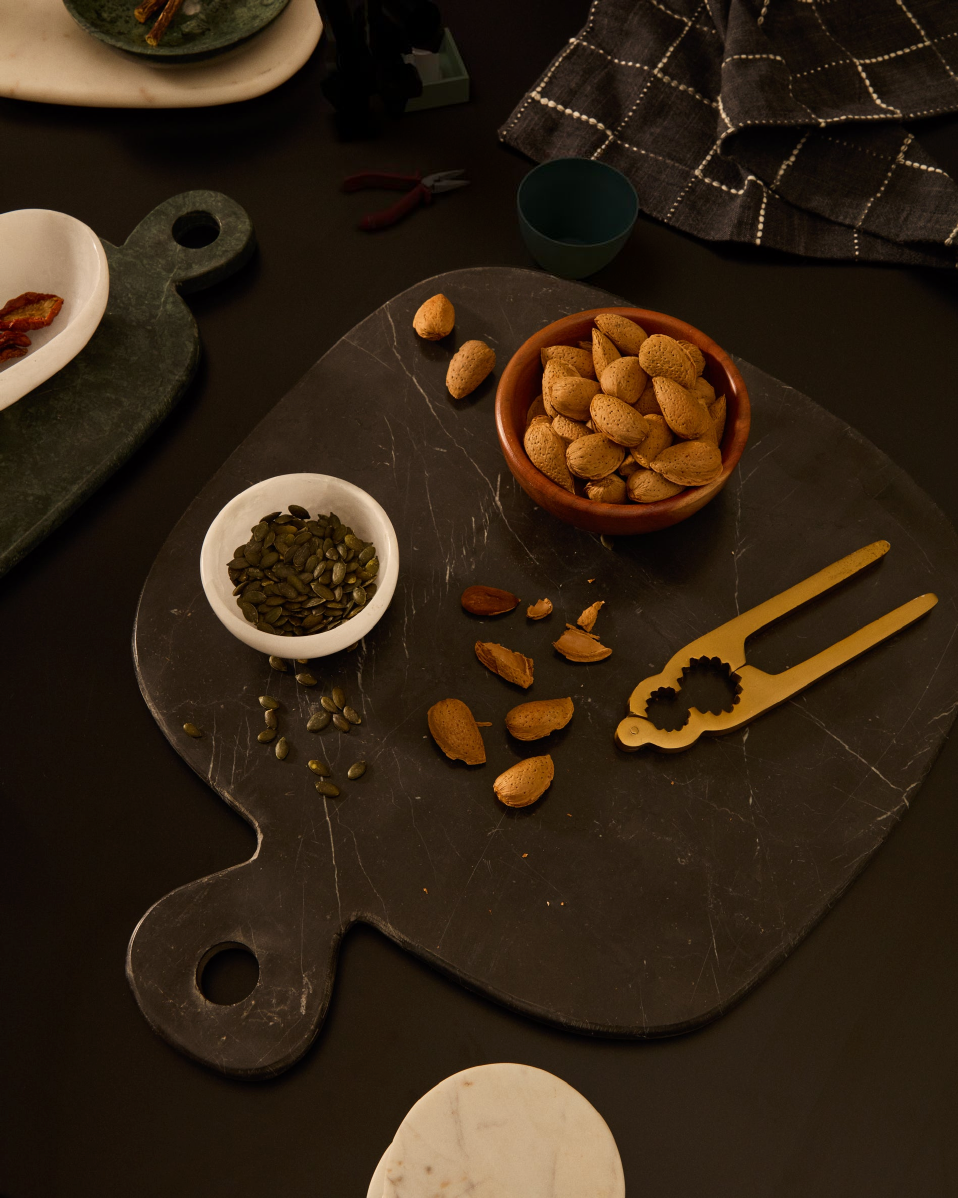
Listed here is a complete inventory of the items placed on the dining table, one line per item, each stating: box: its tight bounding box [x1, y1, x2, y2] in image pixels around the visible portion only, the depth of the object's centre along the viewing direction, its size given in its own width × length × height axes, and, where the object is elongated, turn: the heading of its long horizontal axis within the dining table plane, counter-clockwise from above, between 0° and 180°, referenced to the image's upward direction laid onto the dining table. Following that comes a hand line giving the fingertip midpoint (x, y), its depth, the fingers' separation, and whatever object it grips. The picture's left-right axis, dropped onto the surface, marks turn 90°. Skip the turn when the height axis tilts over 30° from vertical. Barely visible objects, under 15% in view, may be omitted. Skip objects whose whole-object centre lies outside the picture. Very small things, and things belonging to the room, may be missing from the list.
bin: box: [401, 27, 470, 114], centre depth 171 cm, size 14×14×5 cm
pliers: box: [342, 168, 471, 231], centre depth 160 cm, size 12×20×3 cm, turn 110°
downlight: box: [405, 47, 443, 83], centre depth 168 cm, size 8×7×10 cm
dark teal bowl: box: [516, 156, 640, 281], centre depth 151 cm, size 18×18×12 cm
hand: (390, 101), depth 152 cm, fingers open, 9 cm apart
